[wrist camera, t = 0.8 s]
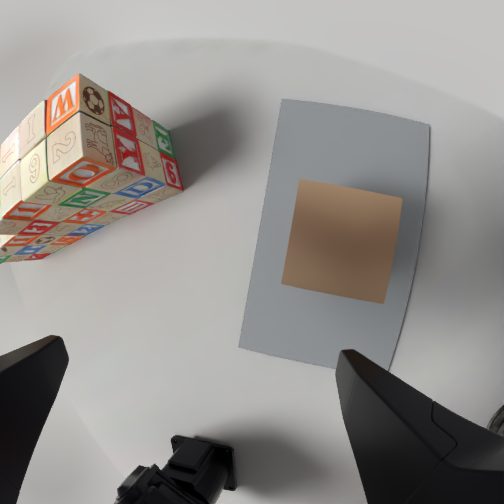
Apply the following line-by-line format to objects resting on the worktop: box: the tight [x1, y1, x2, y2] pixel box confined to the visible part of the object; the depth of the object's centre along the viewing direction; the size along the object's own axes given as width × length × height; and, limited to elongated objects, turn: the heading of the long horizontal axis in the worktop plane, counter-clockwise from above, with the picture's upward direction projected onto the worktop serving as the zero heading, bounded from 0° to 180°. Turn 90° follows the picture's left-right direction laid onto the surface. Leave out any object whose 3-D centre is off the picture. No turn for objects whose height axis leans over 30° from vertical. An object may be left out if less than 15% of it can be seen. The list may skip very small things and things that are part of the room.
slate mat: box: [238, 99, 429, 371], centre depth 21 cm, size 20×12×1 cm, turn 170°
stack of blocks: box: [0, 73, 183, 264], centre depth 21 cm, size 21×6×12 cm, turn 107°
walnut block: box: [281, 179, 403, 304], centre depth 17 cm, size 5×5×8 cm
